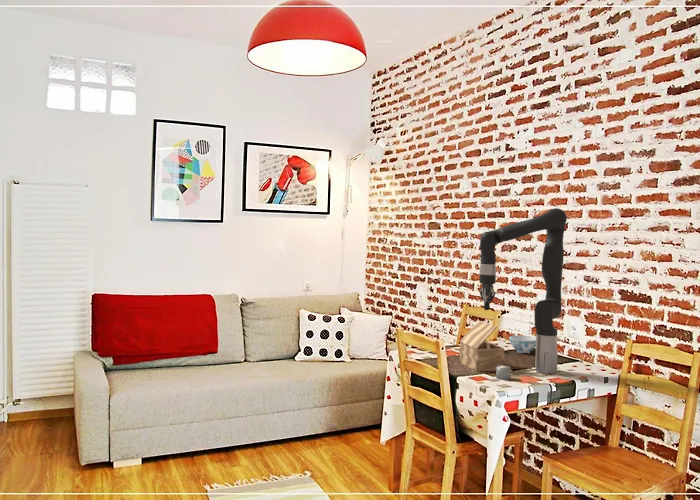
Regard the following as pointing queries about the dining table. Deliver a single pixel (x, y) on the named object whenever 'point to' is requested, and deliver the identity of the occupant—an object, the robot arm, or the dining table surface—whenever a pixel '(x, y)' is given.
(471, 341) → the box lid
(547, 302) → the robot arm
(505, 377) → the grey rounded block
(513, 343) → the chinaware
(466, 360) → the wooden box
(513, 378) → the dining table surface
